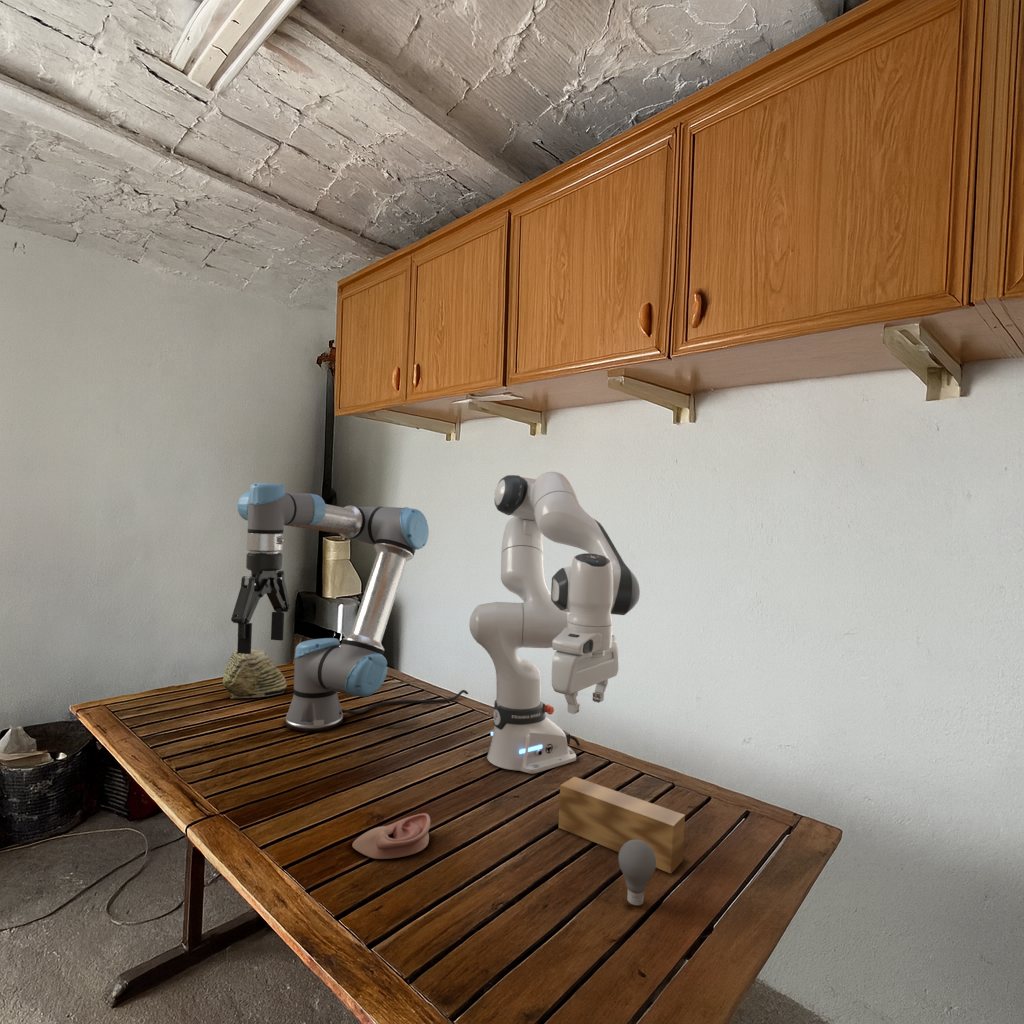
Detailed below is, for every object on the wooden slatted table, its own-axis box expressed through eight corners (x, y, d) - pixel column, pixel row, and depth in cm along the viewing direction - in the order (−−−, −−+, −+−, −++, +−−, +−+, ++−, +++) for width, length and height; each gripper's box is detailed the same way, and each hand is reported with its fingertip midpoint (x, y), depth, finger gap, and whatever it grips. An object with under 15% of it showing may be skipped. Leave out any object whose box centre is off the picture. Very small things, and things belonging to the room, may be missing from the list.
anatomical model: (345, 832, 112) (372, 802, 124) (344, 854, 113) (371, 822, 124) (415, 843, 110) (436, 812, 121) (414, 866, 110) (436, 832, 121)
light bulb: (612, 891, 105) (615, 832, 105) (647, 891, 106) (650, 832, 105) (621, 915, 99) (624, 852, 99) (659, 914, 100) (662, 852, 99)
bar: (683, 860, 115) (685, 814, 115) (671, 874, 111) (673, 826, 111) (572, 817, 130) (574, 776, 130) (558, 827, 125) (560, 785, 125)
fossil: (218, 695, 195) (220, 647, 195) (278, 685, 208) (279, 640, 207) (228, 703, 189) (230, 653, 188) (289, 692, 201) (290, 645, 201)
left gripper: (249, 557, 129) (245, 661, 129) (306, 549, 154) (303, 636, 154) (215, 555, 130) (211, 658, 130) (277, 547, 155) (274, 633, 155)
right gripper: (601, 627, 135) (598, 692, 135) (547, 642, 119) (543, 715, 119) (628, 632, 131) (624, 698, 131) (575, 647, 115) (572, 723, 115)
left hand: (261, 646), depth 142 cm, fingers open, 13 cm apart
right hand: (586, 706), depth 125 cm, fingers open, 8 cm apart
